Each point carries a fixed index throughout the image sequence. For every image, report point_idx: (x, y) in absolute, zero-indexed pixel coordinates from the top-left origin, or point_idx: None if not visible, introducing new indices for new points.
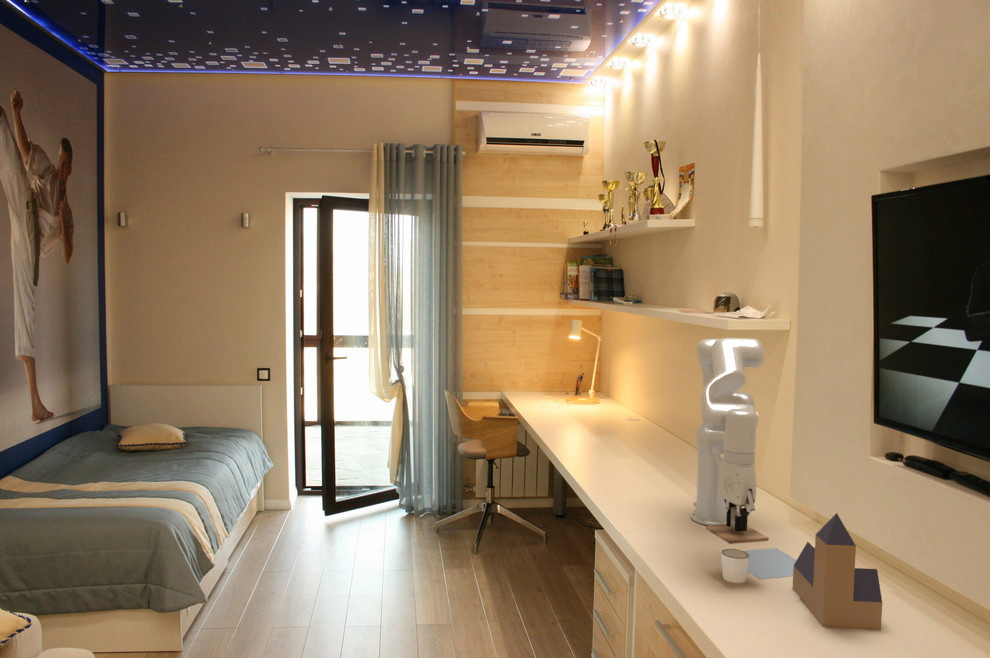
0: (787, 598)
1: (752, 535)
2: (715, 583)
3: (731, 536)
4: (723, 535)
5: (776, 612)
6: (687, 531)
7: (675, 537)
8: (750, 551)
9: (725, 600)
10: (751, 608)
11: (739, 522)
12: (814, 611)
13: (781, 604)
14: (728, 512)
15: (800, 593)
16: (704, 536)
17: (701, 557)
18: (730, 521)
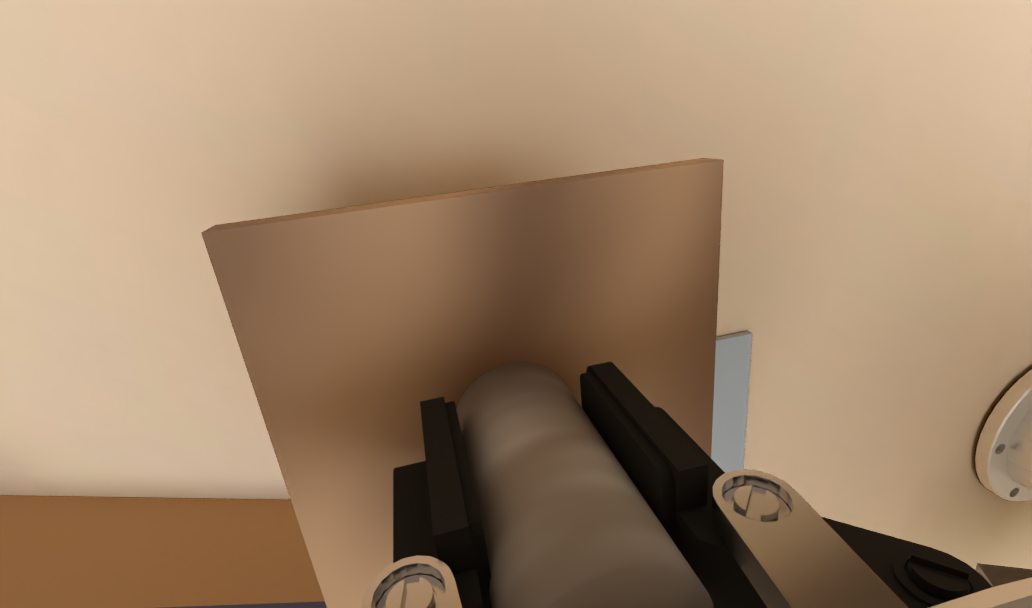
0: (237, 447)
1: None
2: (420, 152)
3: (367, 315)
4: (401, 234)
5: (39, 334)
6: (997, 280)
7: (968, 191)
8: (730, 465)
9: (176, 104)
10: (73, 216)
11: (418, 506)
12: (6, 513)
13: (156, 396)
14: (670, 470)
15: (227, 518)
16: (926, 335)
17: (736, 222)
18: (604, 423)
